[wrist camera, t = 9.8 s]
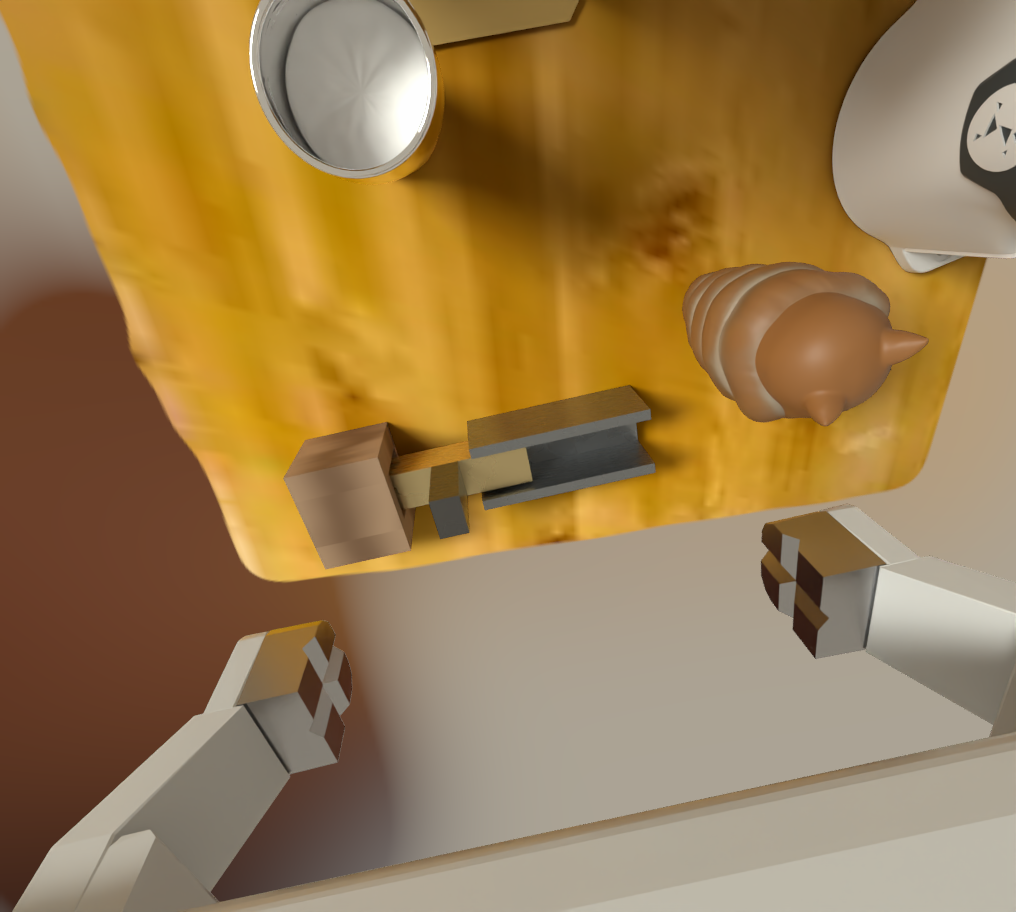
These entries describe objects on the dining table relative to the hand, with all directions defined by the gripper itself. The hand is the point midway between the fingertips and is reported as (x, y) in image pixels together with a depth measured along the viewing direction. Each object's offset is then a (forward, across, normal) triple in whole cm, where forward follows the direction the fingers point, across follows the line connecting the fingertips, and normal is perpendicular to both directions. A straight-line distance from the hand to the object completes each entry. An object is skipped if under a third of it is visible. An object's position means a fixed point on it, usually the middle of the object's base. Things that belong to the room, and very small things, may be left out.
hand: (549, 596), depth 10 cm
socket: (+31, +12, +12) cm, 35 cm away
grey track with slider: (+31, -4, +12) cm, 33 cm away
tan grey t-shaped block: (+30, +6, +12) cm, 33 cm away
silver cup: (+31, +3, -11) cm, 33 cm away
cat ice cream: (+31, -16, +4) cm, 35 cm away
